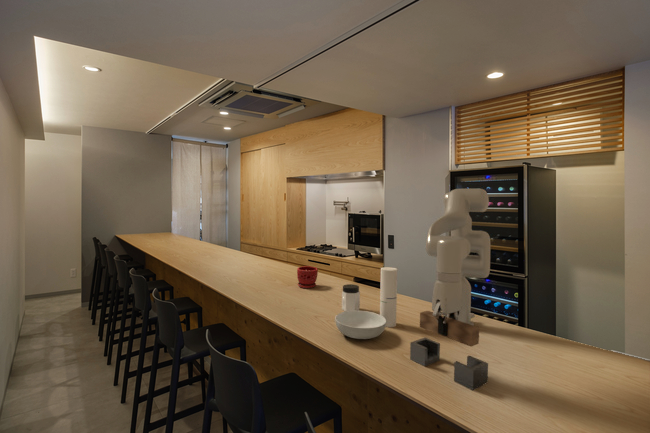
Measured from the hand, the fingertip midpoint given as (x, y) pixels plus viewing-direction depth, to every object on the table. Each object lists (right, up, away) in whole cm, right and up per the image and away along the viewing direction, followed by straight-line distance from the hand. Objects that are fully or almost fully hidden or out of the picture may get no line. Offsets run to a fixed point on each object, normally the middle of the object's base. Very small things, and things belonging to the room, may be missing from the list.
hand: (447, 332), depth 109 cm
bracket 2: (+5, -13, -6) cm, 15 cm away
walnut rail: (0, -1, 0) cm, 1 cm away
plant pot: (-51, -7, +107) cm, 118 cm away
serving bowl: (-25, -11, +30) cm, 40 cm away
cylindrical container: (-11, -11, +42) cm, 44 cm away
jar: (-27, -10, +62) cm, 68 cm away
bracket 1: (-5, -12, +7) cm, 15 cm away
